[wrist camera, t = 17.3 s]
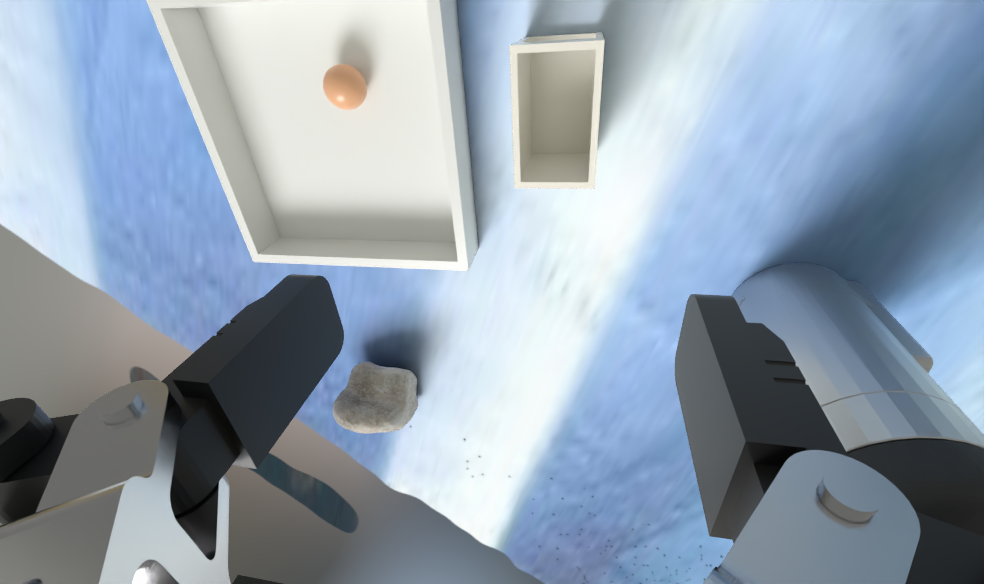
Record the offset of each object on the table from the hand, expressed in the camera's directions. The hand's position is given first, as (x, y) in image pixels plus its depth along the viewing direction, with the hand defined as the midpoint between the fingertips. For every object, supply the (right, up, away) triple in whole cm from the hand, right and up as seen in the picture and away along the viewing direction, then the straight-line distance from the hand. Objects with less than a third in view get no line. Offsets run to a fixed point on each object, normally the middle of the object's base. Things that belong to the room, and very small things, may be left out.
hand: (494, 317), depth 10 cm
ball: (-11, +15, +22) cm, 29 cm away
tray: (-12, +13, +26) cm, 31 cm away
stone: (-7, -12, +40) cm, 43 cm away
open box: (+5, +14, +21) cm, 26 cm away
